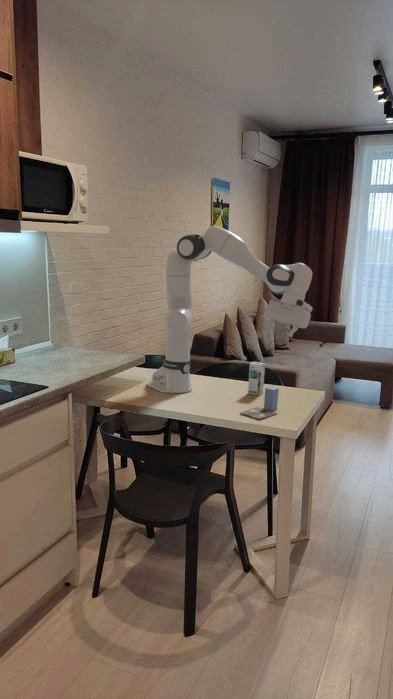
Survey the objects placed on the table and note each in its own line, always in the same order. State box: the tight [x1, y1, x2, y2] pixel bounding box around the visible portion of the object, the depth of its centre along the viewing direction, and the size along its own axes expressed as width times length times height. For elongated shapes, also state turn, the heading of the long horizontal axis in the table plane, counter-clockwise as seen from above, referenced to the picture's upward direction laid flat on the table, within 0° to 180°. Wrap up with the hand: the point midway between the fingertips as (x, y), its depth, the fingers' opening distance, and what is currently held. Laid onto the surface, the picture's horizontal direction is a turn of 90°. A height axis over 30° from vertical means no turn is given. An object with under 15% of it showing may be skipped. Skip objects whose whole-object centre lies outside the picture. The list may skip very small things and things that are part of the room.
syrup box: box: [247, 361, 266, 396], centre depth 246 cm, size 6×6×14 cm
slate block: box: [263, 386, 280, 411], centre depth 224 cm, size 4×4×9 cm
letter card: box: [239, 406, 278, 421], centre depth 217 cm, size 10×12×1 cm
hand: (280, 333), depth 217 cm, fingers open, 8 cm apart
